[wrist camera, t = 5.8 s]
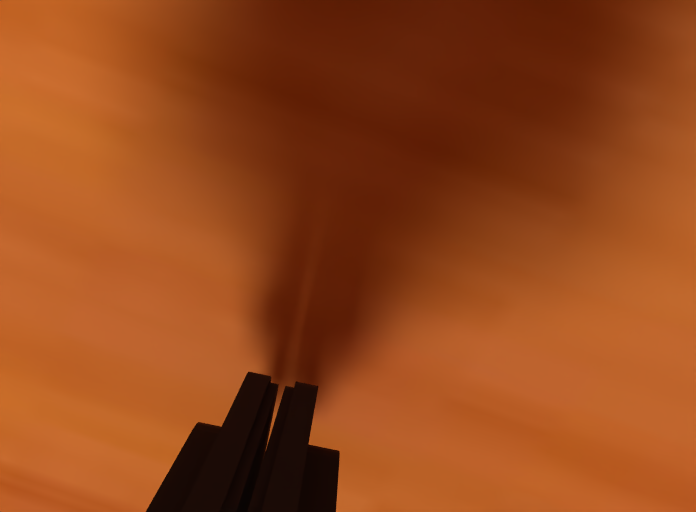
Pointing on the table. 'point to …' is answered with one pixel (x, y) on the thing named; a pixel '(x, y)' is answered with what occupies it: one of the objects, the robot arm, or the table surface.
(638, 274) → the table surface
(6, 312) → the table surface
